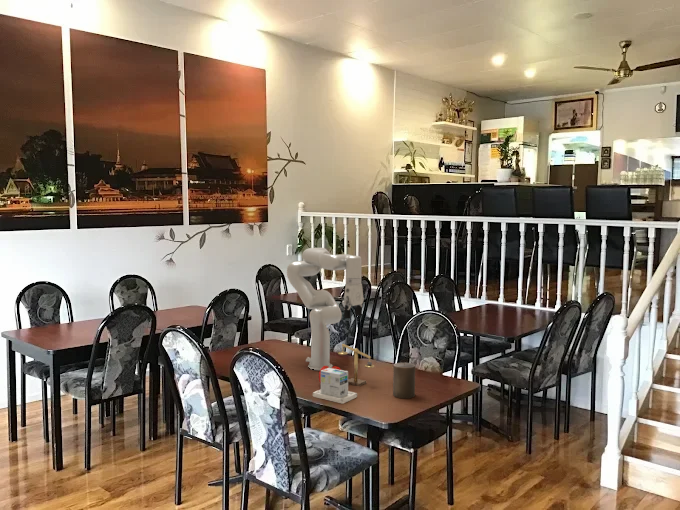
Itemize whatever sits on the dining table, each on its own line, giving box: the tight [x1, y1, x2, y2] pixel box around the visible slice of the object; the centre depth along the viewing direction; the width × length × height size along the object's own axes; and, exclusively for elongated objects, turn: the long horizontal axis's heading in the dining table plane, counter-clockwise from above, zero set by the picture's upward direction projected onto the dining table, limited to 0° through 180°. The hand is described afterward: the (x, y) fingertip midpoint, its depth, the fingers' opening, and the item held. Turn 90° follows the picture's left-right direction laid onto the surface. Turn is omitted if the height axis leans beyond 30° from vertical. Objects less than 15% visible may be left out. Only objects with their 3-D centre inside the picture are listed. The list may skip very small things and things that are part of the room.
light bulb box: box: [320, 368, 349, 398], centre depth 259 cm, size 11×7×11 cm, turn 56°
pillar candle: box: [392, 361, 416, 399], centre depth 263 cm, size 10×10×15 cm
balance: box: [337, 343, 376, 387], centre depth 280 cm, size 20×6×18 cm, turn 55°
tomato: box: [318, 365, 342, 385], centre depth 276 cm, size 11×12×9 cm
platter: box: [312, 388, 358, 404], centre depth 260 cm, size 16×11×2 cm
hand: (353, 316), depth 287 cm, fingers open, 9 cm apart
